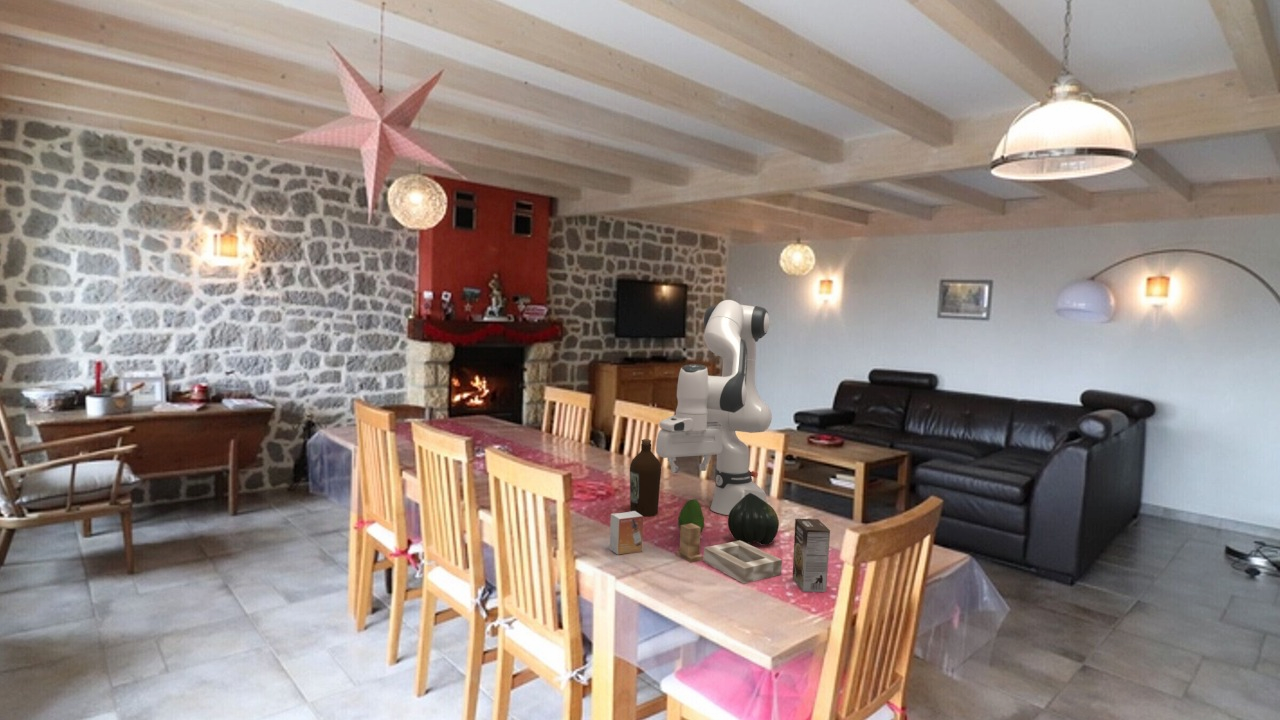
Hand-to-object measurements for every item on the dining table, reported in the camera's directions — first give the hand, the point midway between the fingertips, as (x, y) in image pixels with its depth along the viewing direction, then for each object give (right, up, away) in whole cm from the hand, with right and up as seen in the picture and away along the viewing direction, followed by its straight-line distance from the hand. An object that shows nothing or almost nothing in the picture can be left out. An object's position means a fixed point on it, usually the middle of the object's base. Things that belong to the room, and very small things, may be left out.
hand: (688, 471), depth 194 cm
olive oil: (-12, -21, +40) cm, 47 cm away
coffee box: (+30, -27, -17) cm, 43 cm away
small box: (-18, -24, +4) cm, 30 cm away
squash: (+20, -24, +15) cm, 35 cm away
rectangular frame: (+14, -25, -7) cm, 29 cm away
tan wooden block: (0, -24, 0) cm, 24 cm away
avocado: (+2, -23, +16) cm, 28 cm away
